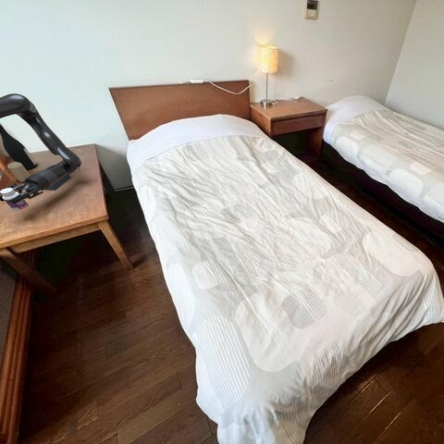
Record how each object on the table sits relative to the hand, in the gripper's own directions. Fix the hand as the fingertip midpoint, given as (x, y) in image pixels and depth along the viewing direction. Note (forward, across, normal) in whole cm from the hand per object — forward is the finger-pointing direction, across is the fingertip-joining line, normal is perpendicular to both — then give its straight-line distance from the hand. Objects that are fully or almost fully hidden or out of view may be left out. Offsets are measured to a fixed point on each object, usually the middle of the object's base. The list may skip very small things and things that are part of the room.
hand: (6, 200), depth 106 cm
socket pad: (-28, -15, +12) cm, 34 cm away
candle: (-28, -30, +12) cm, 43 cm away
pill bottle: (-3, 0, +6) cm, 7 cm away
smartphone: (-40, -19, +13) cm, 46 cm away
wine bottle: (-38, -39, +12) cm, 56 cm away
